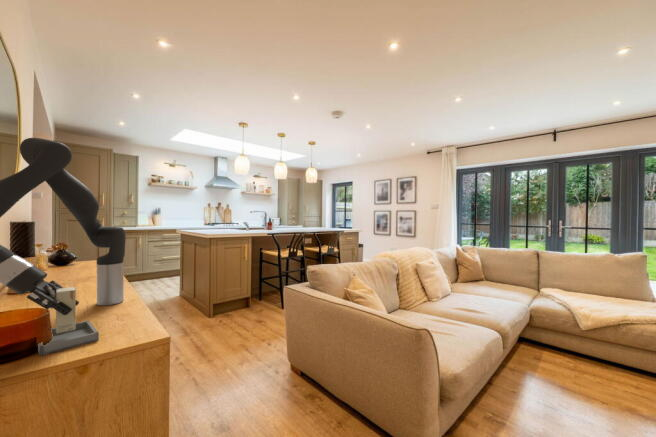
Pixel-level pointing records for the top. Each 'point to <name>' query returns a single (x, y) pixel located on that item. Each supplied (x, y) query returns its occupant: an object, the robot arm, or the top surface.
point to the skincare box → (69, 320)
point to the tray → (70, 338)
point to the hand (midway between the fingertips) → (72, 308)
